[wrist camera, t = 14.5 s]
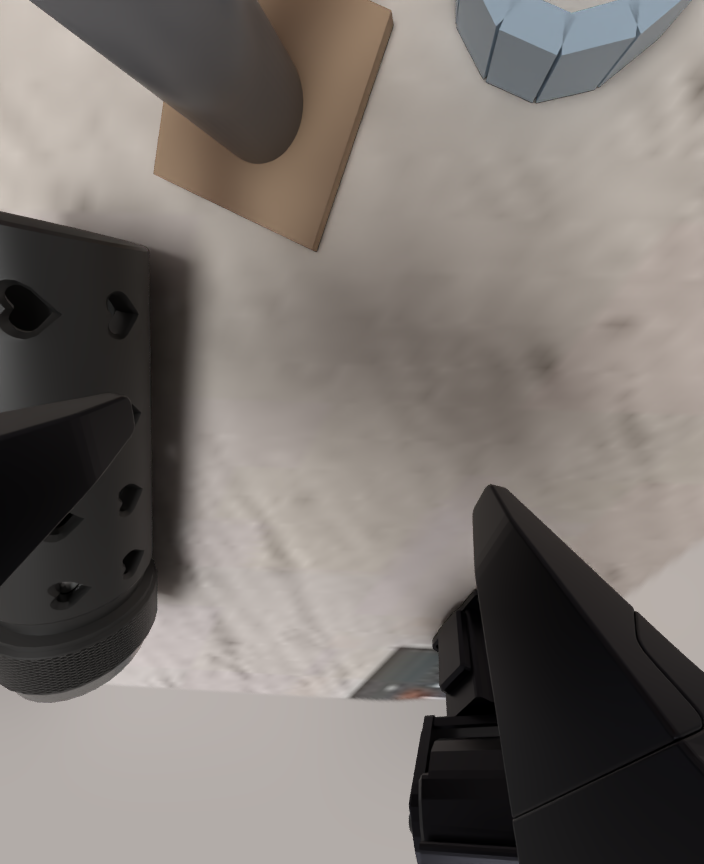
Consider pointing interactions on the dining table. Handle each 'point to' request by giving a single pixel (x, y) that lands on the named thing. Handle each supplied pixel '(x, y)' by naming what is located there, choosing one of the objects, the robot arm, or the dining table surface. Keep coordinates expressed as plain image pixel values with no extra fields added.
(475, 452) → the dining table surface
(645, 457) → the dining table surface
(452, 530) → the dining table surface
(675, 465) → the dining table surface
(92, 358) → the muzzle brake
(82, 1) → the plug
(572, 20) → the collar
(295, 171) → the mat
